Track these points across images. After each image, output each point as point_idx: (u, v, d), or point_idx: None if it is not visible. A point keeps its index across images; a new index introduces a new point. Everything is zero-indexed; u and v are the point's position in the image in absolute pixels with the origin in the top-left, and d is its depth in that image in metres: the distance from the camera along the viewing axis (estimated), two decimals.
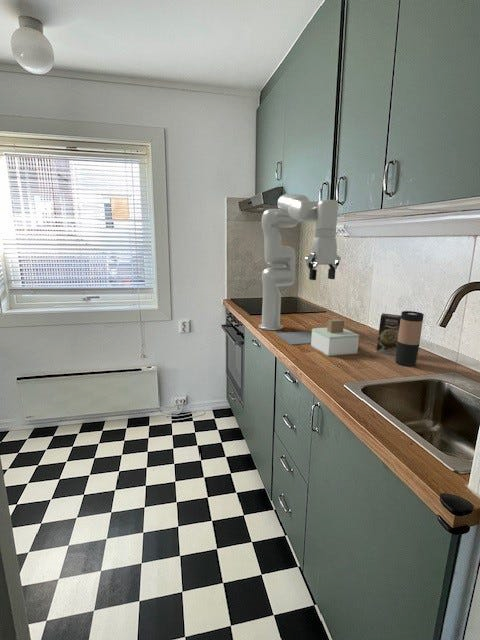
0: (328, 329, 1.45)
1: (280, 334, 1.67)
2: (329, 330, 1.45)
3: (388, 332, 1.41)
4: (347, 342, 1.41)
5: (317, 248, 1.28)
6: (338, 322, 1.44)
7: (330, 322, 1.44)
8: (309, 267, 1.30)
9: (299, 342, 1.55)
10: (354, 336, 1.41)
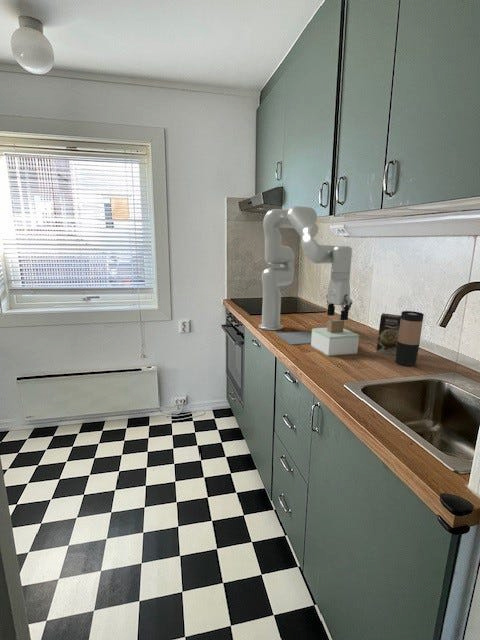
0: (328, 329, 1.45)
1: (280, 334, 1.67)
2: (329, 330, 1.45)
3: (388, 332, 1.41)
4: (347, 342, 1.41)
5: (349, 290, 1.38)
6: (338, 322, 1.44)
7: (330, 322, 1.44)
8: (346, 309, 1.37)
9: (299, 342, 1.55)
10: (354, 336, 1.41)
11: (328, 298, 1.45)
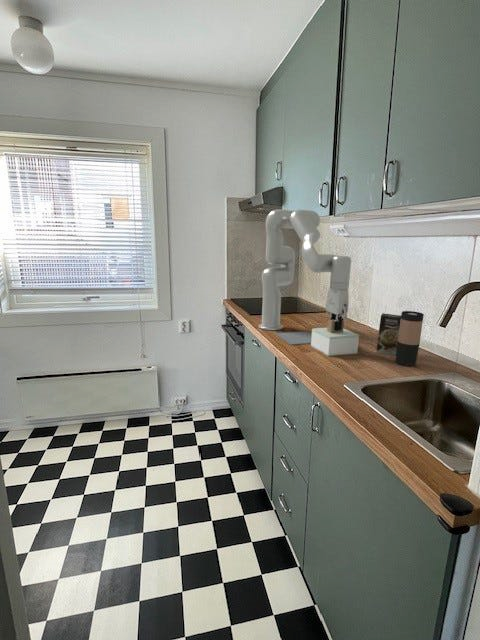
0: (328, 329, 1.45)
1: (280, 334, 1.67)
2: (329, 330, 1.45)
3: (388, 332, 1.41)
4: (347, 342, 1.41)
5: (347, 300, 1.39)
6: None
7: (330, 322, 1.44)
8: (340, 320, 1.41)
9: (299, 342, 1.55)
10: (354, 336, 1.41)
11: (327, 307, 1.46)
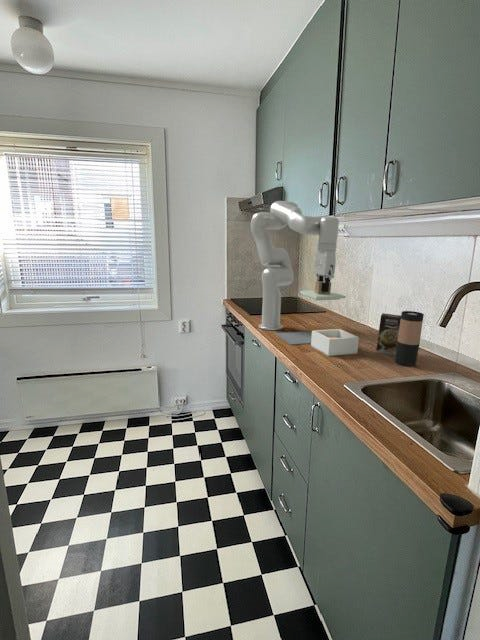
0: (315, 290, 1.49)
1: (280, 334, 1.67)
2: (316, 291, 1.48)
3: (388, 332, 1.41)
4: (347, 342, 1.41)
5: (334, 261, 1.42)
6: None
7: (317, 283, 1.47)
8: (327, 281, 1.45)
9: (299, 342, 1.55)
10: (340, 297, 1.45)
11: (315, 269, 1.49)
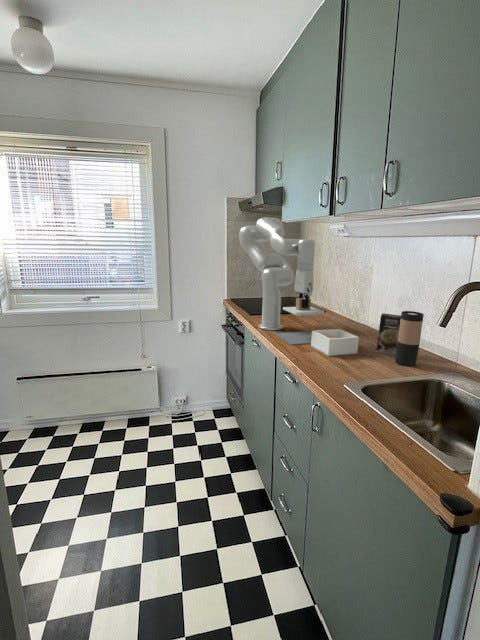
0: (296, 307, 1.59)
1: (280, 334, 1.67)
2: (297, 308, 1.58)
3: (388, 332, 1.41)
4: (347, 342, 1.41)
5: (312, 279, 1.53)
6: None
7: (298, 300, 1.58)
8: (306, 298, 1.55)
9: (299, 342, 1.55)
10: (319, 312, 1.55)
11: (295, 287, 1.60)
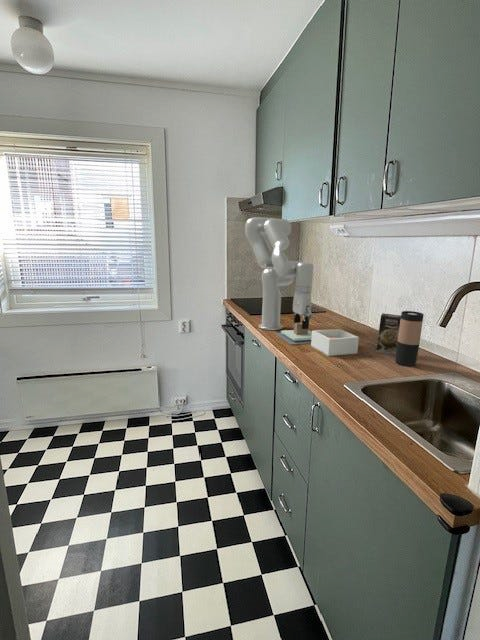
0: (294, 331, 1.62)
1: (280, 334, 1.67)
2: (295, 332, 1.62)
3: (388, 332, 1.41)
4: (347, 342, 1.41)
5: (310, 302, 1.55)
6: None
7: (296, 325, 1.61)
8: (306, 319, 1.56)
9: (299, 342, 1.55)
10: None
11: (293, 308, 1.63)
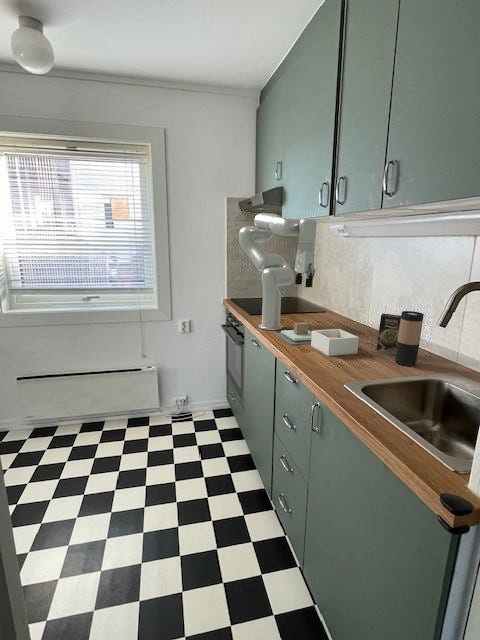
0: (294, 331, 1.62)
1: (280, 334, 1.67)
2: (295, 332, 1.62)
3: (388, 332, 1.41)
4: (347, 342, 1.41)
5: (313, 260, 1.51)
6: (303, 325, 1.61)
7: (296, 325, 1.61)
8: (310, 277, 1.51)
9: (299, 342, 1.55)
10: None
11: (295, 268, 1.58)
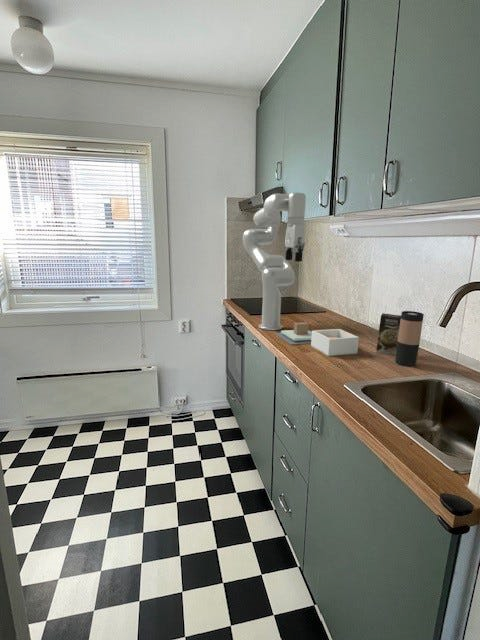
0: (294, 331, 1.62)
1: (280, 334, 1.67)
2: (295, 332, 1.62)
3: (388, 332, 1.41)
4: (347, 342, 1.41)
5: (302, 234, 1.51)
6: (303, 325, 1.61)
7: (296, 325, 1.61)
8: (300, 250, 1.50)
9: (299, 342, 1.55)
10: None
11: (285, 243, 1.58)
